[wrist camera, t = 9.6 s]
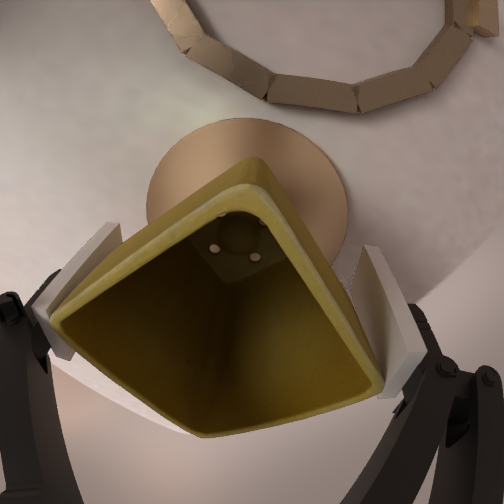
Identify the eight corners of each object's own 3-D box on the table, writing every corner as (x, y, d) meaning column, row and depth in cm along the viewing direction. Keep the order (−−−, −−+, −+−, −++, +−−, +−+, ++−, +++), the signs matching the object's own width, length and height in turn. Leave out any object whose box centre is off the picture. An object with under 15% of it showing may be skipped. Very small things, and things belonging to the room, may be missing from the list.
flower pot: (349, 258, 17) (390, 395, 9) (224, 316, 20) (200, 442, 12) (265, 120, 13) (253, 173, 5) (133, 212, 16) (42, 322, 8)
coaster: (159, 288, 21) (156, 293, 21) (145, 116, 15) (141, 118, 15) (325, 304, 21) (326, 310, 20) (362, 132, 15) (365, 133, 14)
